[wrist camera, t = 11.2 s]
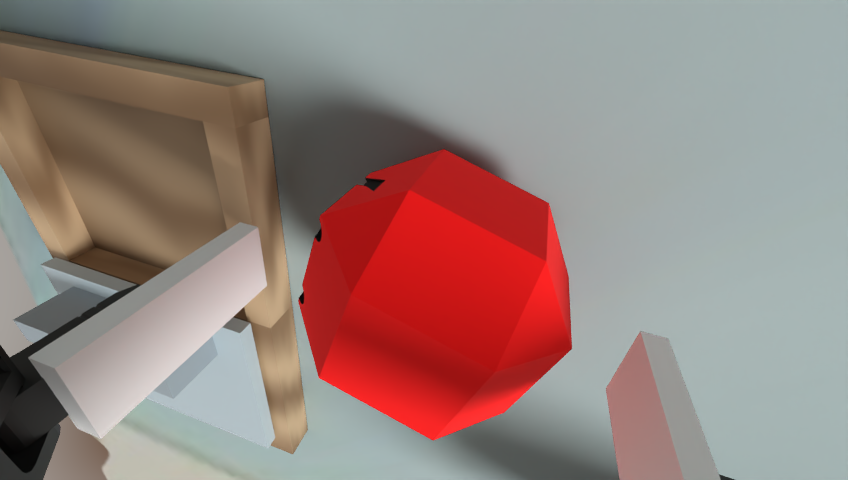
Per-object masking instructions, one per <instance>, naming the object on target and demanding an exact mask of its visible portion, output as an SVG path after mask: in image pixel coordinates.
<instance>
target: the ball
mask: <svg viewBox="0 0 848 480" xmlns="http://www.w3.org/2000/svg"><path fill="white" fill-rule="evenodd" d="M365 179H366V180H367V183H366V184H365V185H364V186H362V185H356V186H355V187H353V188H352V189H351V190H350V191H349V192H347V193H346V194H345V195H344V196H343V197H341V198H340V199H339V200H338V201H337V202H336V203H334V204H333V205H332V206H331V207H330V208H328V209H327V210H326V211H325V212H324V213H322V214H321V215H320V219H319V220H320V223H321V229H320V231H319V232H318V234H317V235H316V236H315V238H314V242H313V246H312V250H311V253H310V257H309V261H308V265H307V269H306V273H305V277H304V280H303V284H302V285H303V290H304V291H303V293H302V295H301V296H300V297H299V300H298V302H299V305H300V309H301V313H302V317H303V320H304V324H305V328H306V331H307V335H308V339H309V343H310V346H311V350H312V354H313V358H314V361H315V365H316V369H317V372H318V376H319V378H320V379H322V380H324V381H326V382H328V383H329V384H331V385H333V386H335V387H337V388H338V389H340V390H342V391H344V392H346V393H348V394H349V395H351V396H353V397H355V398H357V399H358V400H360V401H362V402H364V403H366V404H368V405H369V406H371V407H373V408H375V409H377V410H378V411H380V412H382V413H384V414H386V415H388V416H389V417H391V418H393V419H395V420H397V421H399V422H400V423H402V424H404V425H406V426H408V427H409V428H411V429H413V430H415V431H417V432H419V433H420V434H422V435H424V436H426V437H428V438H429V439H431V440H435V439H438V438H440V437H443V436H446V435H448V434H451V433H453V432H456V431H458V430H461V429H463V428H466V427H468V426H471V425H473V424H476V423H478V422H481V421H484V420H486V419H489V418H491V417H494V416H496V415H499V414H501V413H504V412H505V411H506V410H507V409H508V408H509V407H510V406H511V405H513V404H514V403H515V402H516V401H517V400H518V399H519V398H520V397H521V396H522V395H523V394H524V393H525V392H526V391H527V390H529V389H530V388H531V387H532V386H533V385H534V384H535V383H536V382H537V381H538V380H539V379H540V378H541V377H542V376H543V375H544V374H546V373H547V372H548V371H549V370H550V369H551V368H552V367H553V366H554V365H555V364H556V363H557V362H558V361H559V360H560V359H561V358H563V357H564V356H565V355H566V354H567V353H568V352H569V351H570V350H571V349H572V341H571V319H570V298H569V277H568V273H567V269H566V265H565V262H564V258H563V254H562V250H561V247H560V243H559V239H558V236H557V232H556V228H555V224H554V221H553V217H552V213H551V209H550V206H549V203H547V202H545V201H544V200H542V199H540V198H538V197H536V196H534V195H532V194H530V193H528V192H526V191H524V190H522V189H520V188H518V187H516V186H515V185H513V184H511V183H509V182H507V181H505V180H503V179H501V178H499V177H497V176H495V175H493V174H491V173H489V172H487V171H486V170H484V169H482V168H480V167H478V166H476V165H474V164H472V163H470V162H468V161H466V160H464V159H462V158H460V157H458V156H457V155H455V154H453V153H451V152H449V151H447V150H445V149H443V150H440V151H437V152H433V153H430V154H427V155H424V156H421V157H418V158H415V159H412V160H409V161H406V162H403V163H400V164H397V165H394V166H390V167H387V168H384V169H381V170H378V171H375V172H372V173H370V174H369V175H368V176H366V177H365Z"/></svg>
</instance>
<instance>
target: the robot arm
mask: <svg viewBox="0 0 848 480" xmlns="http://www.w3.org/2000/svg"><path fill="white" fill-rule="evenodd" d="M266 286H267V281H266V275H265V268H264V262H263V255H262V249H261V242H260V236H259V229H258V227H256V226H252V225H248V224H245V223H241V222H240V223H238V224H237V225H235V226H233V227H232V228H230V229H229V230H227V231H226V232H224V233H222V234H221V235H219V236H218V237H216V238H215V239H213V240H211V241H210V242H208V243H207V244H205V245H204V246H202V247H201V248H199V249H197V250H196V251H194V252H193V253H191V254H190V255H188V256H186V257H185V258H183V259H182V260H180V261H179V262H177V263H175V264H174V265H172V266H171V267H169V268H168V269H166V270H164V271H163V272H161V273H160V274H158V275H157V276H155V277H153V278H152V279H150V280H149V281H147V282H146V283H144V284H143V285H138V284H137V285H135V286H132V287H129V288H127V289H124V290H122V291H119V292H116V293H115V294H113V295H111V296H110V297H108V298H106V299H105V300H103V301H102V302H100V303H98V304H97V306H96V307H92V308H90V309H89V310H87V311H85V312H84V313H82V314H81V316H80V317H78V316H77V317H76V318H74V319H72V320H71V321H69V322H68V323H66V324H64V325H63V326H61V327H59V328H58V329H56V330H55V331H53V332H51V333H50V334H48V335H47V336H45V337H43V338H42V339H40V340H38V341H37V342H35V343H34V344H32V345H30V346H29V347H27V348H25V349H24V350H22V351H21V352H19V353H17V354H15V355H13V356H12V357H10V358H9V356H8V355H7V354H6V352H5V351H4V349H3V348H2V347H1V345H0V480H43V478H44V475H45V472H46V470H47V467H48V464H49V462H50V459H51V456H52V453H53V451H54V449H55V446H56V443H57V441H58V438H59V435H60V425H59V424H58V423H59V422H60V421H61V420H63V419H64V418H65V417H67V416H69V417H70V418H71V420H72V421H73V422H74V424H75V426H76V427H77V428H78V429H80V430H82V431H84V432H86V433H89V434H91V435H93V436H96V437H98V438H100V439H101V438H102V437H103V436H105V435H106V434H107V433H108V432H109V431H110V430H111V429H112V428H113V427H114V426H115V425H116V424H118V423H119V422H120V421H121V420H122V419H123V418H124V417H125V416H126V415H127V414H128V413H129V412H131V411H132V410H133V409H134V408H135V407H136V406H137V405H138V404H139V403H140V402H141V401H142V400H144V399H145V398H146V397H147V396H148V395H149V394H150V393H151V392H152V391H153V390H154V389H155V388H157V387H158V386H159V385H160V384H161V383H162V382H163V381H164V380H165V379H166V378H167V377H169V376H170V375H171V374H172V373H173V372H174V371H175V370H176V369H177V368H178V367H179V366H180V365H182V364H183V363H184V362H185V361H186V360H187V359H188V358H189V357H190V356H191V355H192V354H193V353H195V352H196V351H197V350H198V349H199V348H200V347H201V346H202V345H203V344H204V343H205V342H206V341H208V340H209V339H210V338H211V337H212V336H213V335H214V334H215V333H216V332H217V331H218V330H219V329H221V328H222V327H223V326H224V325H225V324H226V323H227V322H228V321H229V320H230V319H231V318H233V317H234V316H235V315H236V314H237V313H238V312H239V311H240V310H241V309H242V308H243V307H244V306H246V305H247V304H248V303H249V302H250V301H251V300H252V299H253V298H254V297H255V296H256V295H257V294H259V293H260V292H261V291H262V290H263V289H264V288H265V287H266ZM606 393H607V399H608V406H609V413H610V419H611V426H612V433H613V439H614V446H615V453H616V459H617V466H618V472H619V479H620V480H734V479H731V478H728V477H725V476H722V475H719V474H718V471H717V468H716V466H715V463H714V460H713V458H712V455H711V452H710V449H709V447H708V444H707V441H706V439H705V436H704V433H703V431H702V428H701V425H700V423H699V420H698V417H697V415H696V412H695V409H694V407H693V404H692V401H691V398H690V396H689V393H688V390H687V388H686V385H685V382H684V380H683V377H682V374H681V372H680V369H679V366H678V364H677V361H676V358H675V356H674V353H673V350H672V347H671V345H670V342H669V339H668V338H664V337H661V336H657V335H653V334H650V333H646V332H642V331H640V333H639V334H638V336H637V338H636V339H635V341H634V343H633V344H632V346H631V348H630V349H629V351H628V353H627V354H626V356H625V358H624V359H623V361H622V363H621V364H620V366H619V368H618V369H617V371H616V373H615V374H614V376H613V378H612V379H611V381H610V383H609V384H608V386H607V388H606Z"/></svg>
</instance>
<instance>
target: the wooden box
mask: <svg viewBox="0 0 848 480" xmlns="http://www.w3.org/2000/svg"><path fill="white" fill-rule="evenodd" d="M0 164H1V166H2V167H3V169H4V171H5V173H6V175H7V176H8V178H9V180H10V182H11V184H12V185H13V187H14V189H15V191H16V193H17V194H18V196H19V198H20V200H21V202H22V203H23V205H24V207H25V209H26V211H27V212H28V214H29V216H30V218H31V220H32V221H33V223H34V225H35V227H36V229H37V230H38V232H39V234H40V236H41V238H42V239H43V241H44V243H45V245H46V247H47V248H48V250H49V252H50V254H51V256H52V257H53V258H55V257H56V258H59V259H62V260H65V261H68V262H71V263H74V264H77V265H80V266H83V267H86V268H89V269H92V270H95V271H98V272H101V273H103V274H106V275H109V276H112V277H115V278H118V279H121V280H124V281H127V282H130V283H133V284H136V285H137V284H138V285H143V284H144V283H146V282H147V281H149V280H150V279H152V278H153V277H155V276H157V275H158V274H160V273H161V272H163V271H164V270H166V269H168V268H169V267H171V266H172V265H174V264H175V263H177V262H179V261H180V260H182V259H183V258H185V257H186V256H188V255H190V254H191V253H193V252H194V251H196V250H197V249H199V248H201V247H202V246H204V245H205V244H207V243H208V242H210V241H211V240H213V239H215V238H216V237H218V236H219V235H221V234H222V233H224V232H226V231H227V230H229V229H230V228H232V227H233V226H235V225H237V224H238V223H240V222H241V223H245V224H248V225H252V226H256V227H258V229H259V236H260V242H261V249H262V255H263V262H264V268H265V275H266V281H267V286H266V287H265V288H264V289H263V290H262V291H261V292H260V293H259V294H257V295H256V296H255V297H254V298H253V299H252V300H251V301H250V302H249V303H248V304H247V305H246V306H244V307H243V308H242V309H241V310H240V311H239V312H238V313H237V314H236V315H235V316H234V318H237V319H240V320H243V321H246V322H249V323H251V328H252V332H253V337H254V342H255V346H256V351H257V355H258V360H259V365H260V369H261V374H262V378H263V383H264V388H265V392H266V397H267V401H268V406H269V411H270V415H271V420H272V424H273V429H274V434H275V439H274V441H273V442H272V444H271V446H274V447H276V448H279V449H281V450H284V451H286V452H288V453H291V454H293V453H294V452H295V450H296V448H297V447H298V445H299V443H300V442H301V440H302V438H303V437H304V435H305V433H306V432H307V430H308V429H307V421H306V413H305V405H304V397H303V389H302V381H301V373H300V365H299V357H298V349H297V341H296V333H295V325H294V317H293V309H292V301H291V293H290V285H289V277H288V269H287V260H286V252H285V244H284V236H283V228H282V220H281V212H280V204H279V196H278V188H277V180H276V172H275V164H274V156H273V148H272V140H271V132H270V124H269V116H268V108H267V100H266V92H265V84H264V79H259V78H253V77H248V76H243V75H237V74H232V73H226V72H221V71H216V70H210V69H205V68H200V67H194V66H189V65H183V64H178V63H173V62H167V61H162V60H157V59H151V58H146V57H141V56H135V55H130V54H124V53H119V52H114V51H108V50H103V49H98V48H92V47H87V46H81V45H76V44H71V43H65V42H60V41H55V40H49V39H44V38H39V37H33V36H28V35H22V34H17V33H12V32H6V31H1V30H0Z"/></svg>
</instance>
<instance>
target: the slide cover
mask: <svg viewBox="0 0 848 480" xmlns="http://www.w3.org/2000/svg"><path fill="white" fill-rule="evenodd" d="M41 266H42V268H43V269H44V271H45V273H46V274H47V276H48V278H49V280H50V281H51V283H52V285H53V286H54V288H55V290H56V292H57V293H58V295H57V296H55V297H53V298H51V299H50V300H48V301H46V302H44V303H42V304H41V305H39V306H37V307H35V308H33V309H32V310H30V311H28V312H26V313H25V314H23V315H21V316H19V317H18V318H16V319H14V322H15V323H16V325H17V326H18V327H19V329H20V330H21V332H22V333H23V334H24V336H25V337H26V339H27V340H28V341H31V342H33V343H35V342H37V341H38V340H40V339H42V338H43V337H45V336H47V335H48V334H50V333H51V332H53V331H55V330H56V329H58V328H59V327H61V326H63V325H64V324H66V323H68V322H69V321H71V320H72V319H74V318H76V317H77V316H78V317H80V316H81V314H82V313H84V312H85V311H87V310H89V309H90V308H92V307H96V306H97V304H98V303H100V302H102V301H103V300H105V299H106V298H108V297H110V296H111V295H113V294H115V293H116V292H119V291H122V290H124V289H127V288H129V287H132V286H135V285H136V284H133V283H130V282H127V281H124V280H121V279H118V278H115V277H112V276H109V275H106V274H103V273H101V272H98V271H95V270H92V269H89V268H86V267H83V266H80V265H77V264H74V263H71V262H68V261H65V260H62V259H59V258H56V257H55V258H53V259H51V260H49V261H47V262H45V263H43V264H41ZM146 399H149V400H151V401H153V402H156V403H158V404H161V405H163V406H166V407H168V408H171V409H173V410H175V411H178V412H180V413H183V414H185V415H188V416H190V417H193V418H195V419H197V420H200V421H202V422H205V423H207V424H210V425H212V426H215V427H217V428H219V429H222V430H224V431H227V432H229V433H232V434H234V435H237V436H239V437H241V438H244V439H246V440H249V441H251V442H254V443H256V444H259V445H261V446H263V447H266V448H269V447H270V445H271V444H272V442H273V441H274V439H275V434H274V429H273V424H272V420H271V415H270V411H269V406H268V401H267V397H266V392H265V388H264V383H263V378H262V374H261V369H260V365H259V360H258V355H257V351H256V346H255V342H254V337H253V332H252V328H251V323H249V322H246V321H243V320H240V319H237V318H234V317H233V318H231V319H230V320H229V321H228V322H227V323H226V324H225V325H224V326H223V327H222V328H221V329H219V330H218V331H217V332H216V333H215V334H214V335H213V336H212V337H211V338H210V339H209V340H208V341H206V342H205V343H204V344H203V345H202V346H201V347H200V348H199V349H198V350H197V351H196V352H195V353H193V354H192V355H191V356H190V357H189V358H188V359H187V360H186V361H185V362H184V363H183V364H182V365H180V366H179V367H178V368H177V369H176V370H175V371H174V372H173V373H172V374H171V375H170V376H169V377H167V378H166V379H165V380H164V381H163V382H162V383H161V384H160V385H159V386H158V387H157V388H155V389H154V390H153V391H152V392H151V393H150V394H149V395H148V396H147V397H146Z"/></svg>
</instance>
